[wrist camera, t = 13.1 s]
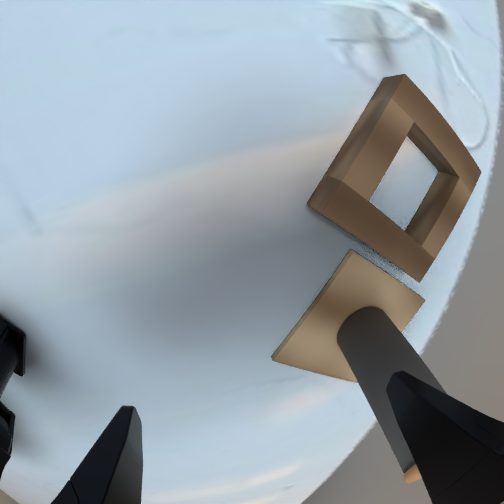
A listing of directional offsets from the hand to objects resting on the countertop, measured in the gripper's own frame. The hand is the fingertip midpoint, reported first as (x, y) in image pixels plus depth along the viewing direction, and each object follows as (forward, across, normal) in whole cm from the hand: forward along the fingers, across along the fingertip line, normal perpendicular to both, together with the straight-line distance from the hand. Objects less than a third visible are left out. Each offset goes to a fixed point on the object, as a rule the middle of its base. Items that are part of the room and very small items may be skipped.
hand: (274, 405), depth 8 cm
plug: (+11, -11, +7) cm, 18 cm away
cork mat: (+12, -11, +7) cm, 18 cm away
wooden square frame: (+12, -12, -6) cm, 18 cm away
